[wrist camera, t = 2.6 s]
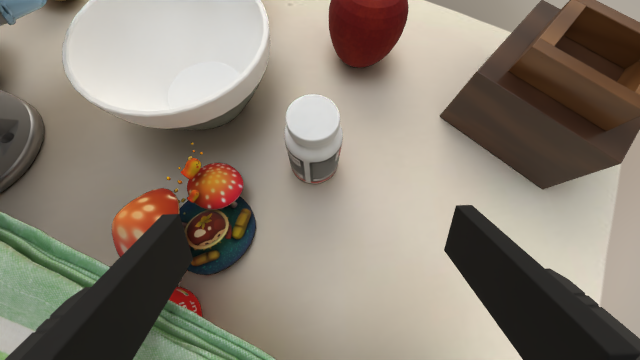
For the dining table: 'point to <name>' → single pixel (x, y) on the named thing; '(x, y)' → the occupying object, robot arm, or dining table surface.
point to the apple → (366, 29)
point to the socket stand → (557, 93)
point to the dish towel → (83, 271)
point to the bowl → (168, 59)
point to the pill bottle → (313, 137)
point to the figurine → (196, 216)
